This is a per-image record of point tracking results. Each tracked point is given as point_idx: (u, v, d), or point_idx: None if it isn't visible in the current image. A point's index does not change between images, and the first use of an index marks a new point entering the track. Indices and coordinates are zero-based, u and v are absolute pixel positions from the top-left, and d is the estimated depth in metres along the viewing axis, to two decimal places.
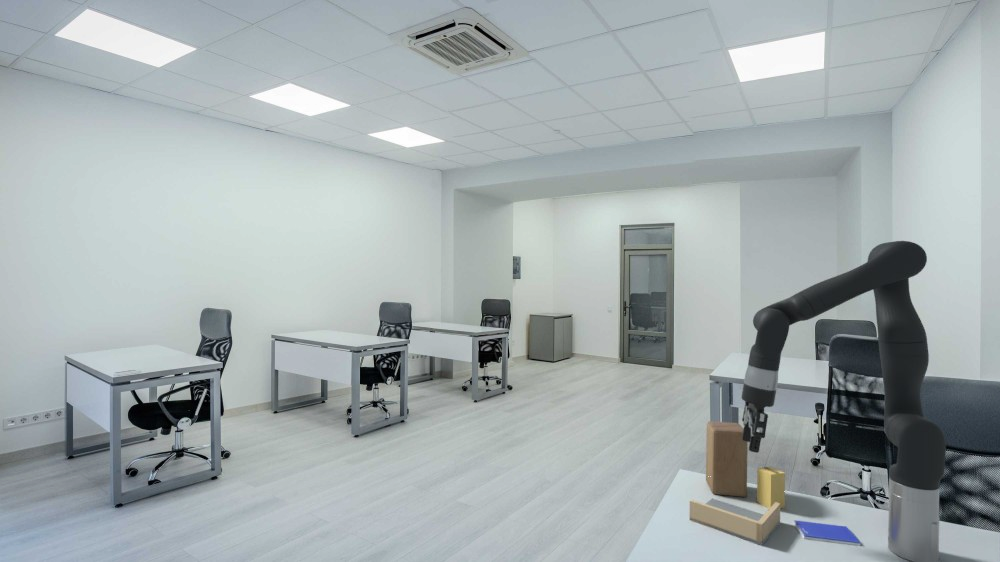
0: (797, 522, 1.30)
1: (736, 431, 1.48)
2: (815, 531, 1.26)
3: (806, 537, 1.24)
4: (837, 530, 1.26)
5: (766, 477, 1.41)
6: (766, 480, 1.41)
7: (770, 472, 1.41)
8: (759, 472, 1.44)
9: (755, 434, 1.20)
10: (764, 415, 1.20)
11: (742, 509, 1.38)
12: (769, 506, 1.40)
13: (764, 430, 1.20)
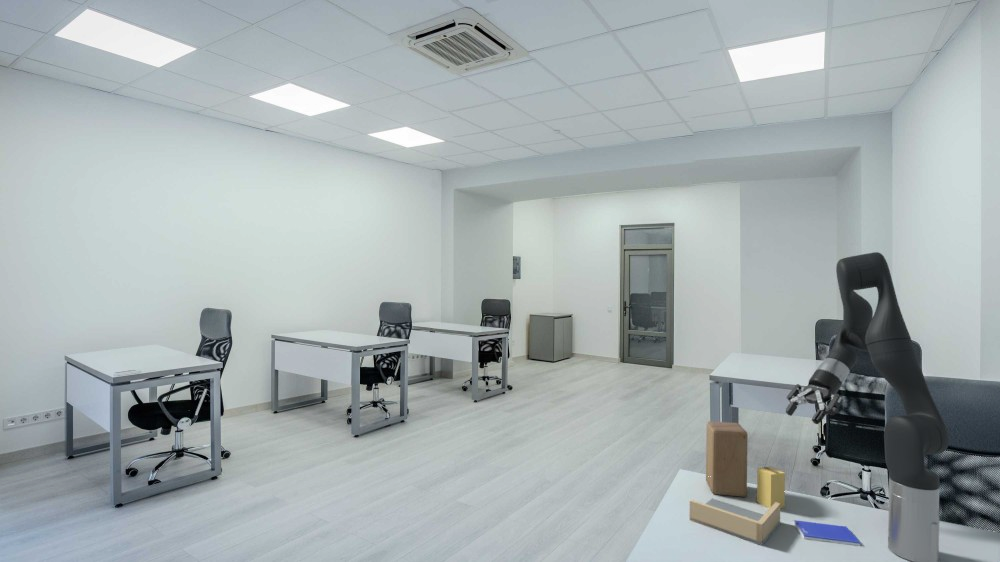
0: (797, 522, 1.30)
1: (736, 431, 1.48)
2: (815, 531, 1.26)
3: (806, 537, 1.24)
4: (837, 530, 1.26)
5: (766, 477, 1.41)
6: (766, 480, 1.41)
7: (770, 472, 1.41)
8: (759, 472, 1.44)
9: None
10: None
11: (742, 509, 1.38)
12: (769, 506, 1.40)
13: None
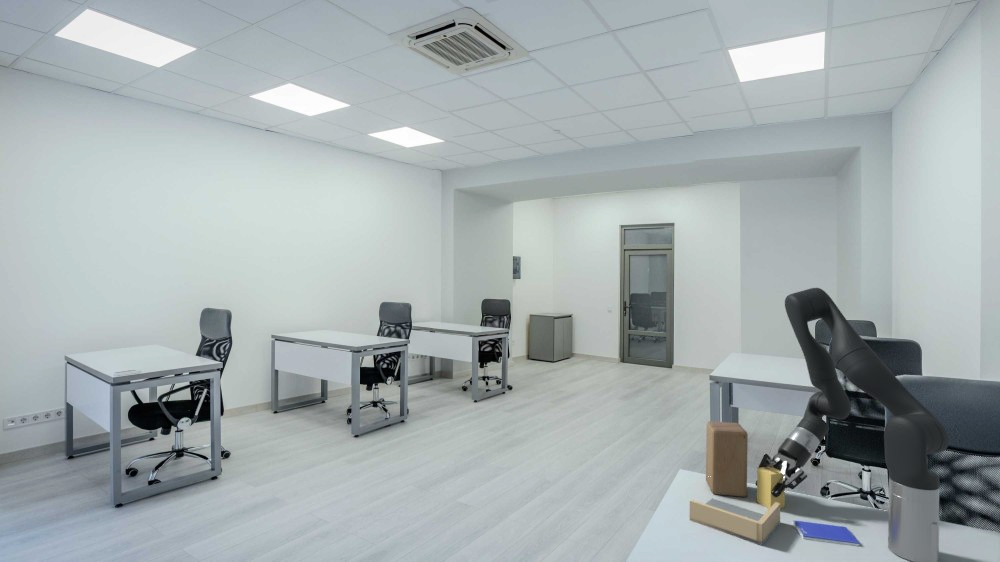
0: (796, 522, 1.30)
1: (736, 431, 1.48)
2: (814, 531, 1.26)
3: (805, 537, 1.24)
4: (836, 530, 1.26)
5: (766, 477, 1.41)
6: (766, 480, 1.41)
7: (770, 472, 1.41)
8: (759, 472, 1.44)
9: None
10: None
11: (742, 509, 1.38)
12: (769, 506, 1.40)
13: None
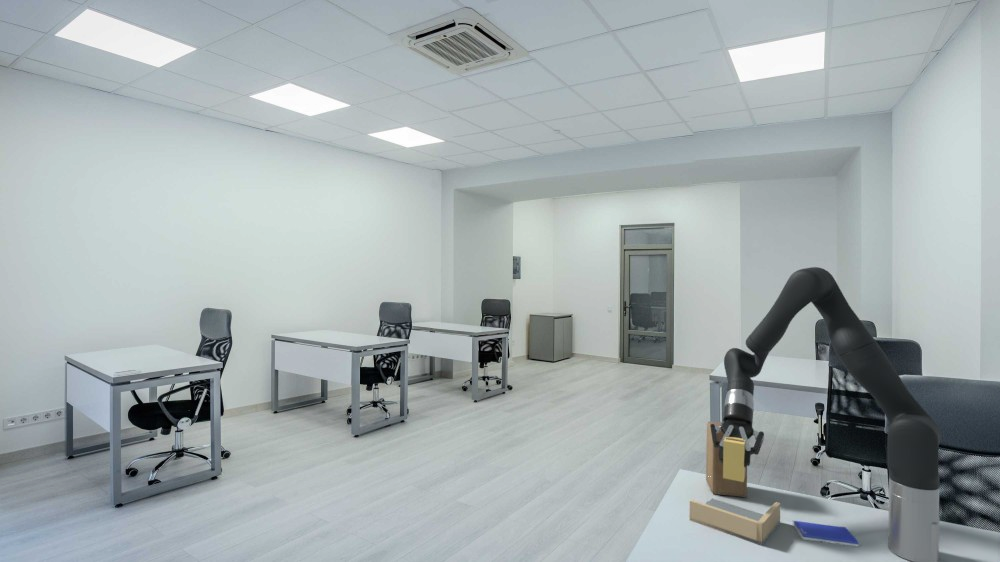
0: (796, 522, 1.30)
1: None
2: (813, 531, 1.26)
3: (804, 537, 1.24)
4: (836, 531, 1.26)
5: (736, 448, 1.30)
6: (737, 451, 1.30)
7: (739, 442, 1.31)
8: (726, 445, 1.31)
9: (713, 444, 1.38)
10: None
11: (742, 509, 1.38)
12: (741, 479, 1.30)
13: None
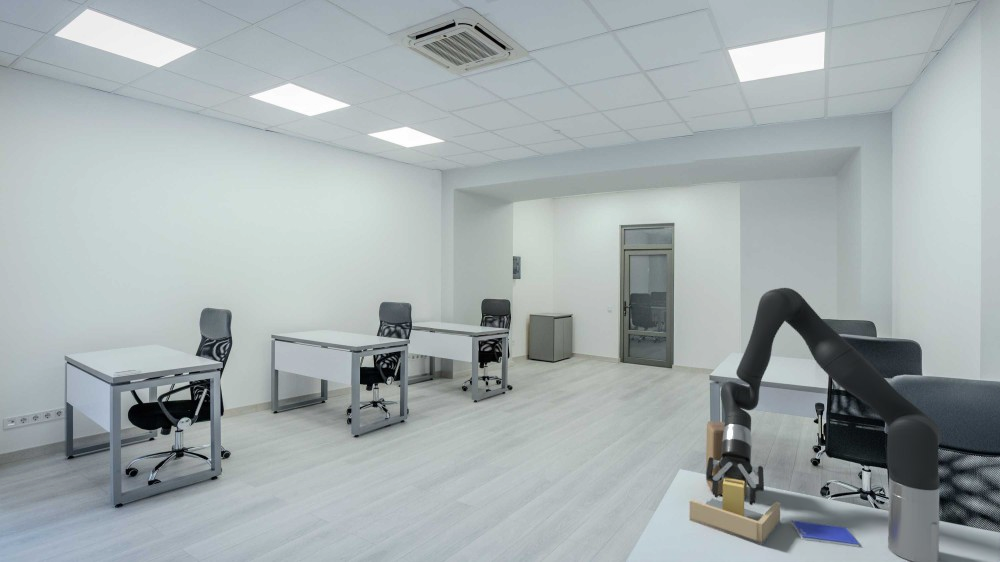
0: (795, 523, 1.30)
1: None
2: (813, 532, 1.26)
3: (804, 538, 1.24)
4: (835, 531, 1.26)
5: (736, 491, 1.29)
6: (736, 494, 1.29)
7: (738, 485, 1.30)
8: (725, 487, 1.31)
9: (706, 477, 1.38)
10: None
11: None
12: None
13: None
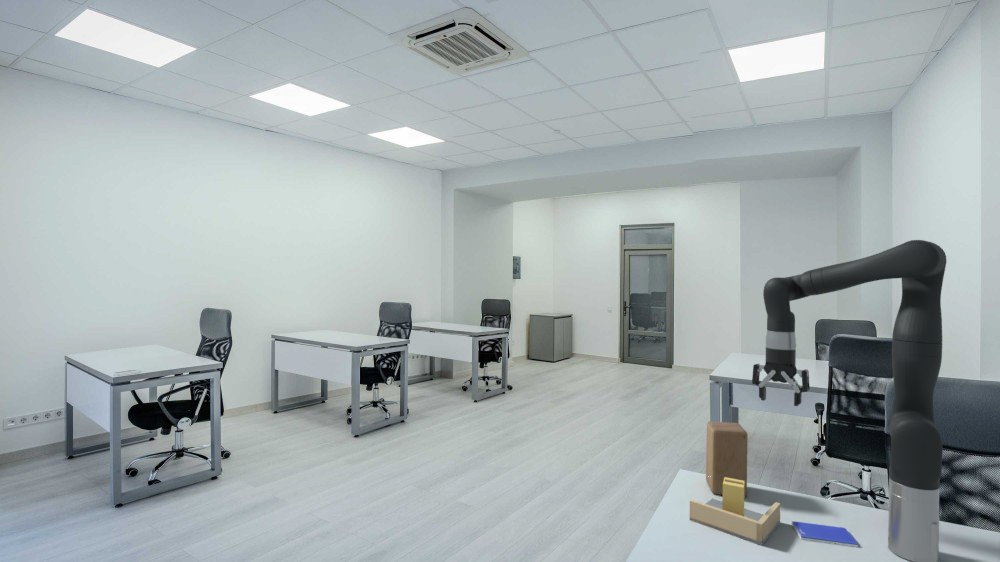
0: (795, 523, 1.30)
1: (736, 431, 1.48)
2: (812, 532, 1.25)
3: (803, 538, 1.24)
4: (835, 531, 1.26)
5: (736, 491, 1.29)
6: (736, 494, 1.29)
7: (738, 485, 1.30)
8: (725, 487, 1.31)
9: None
10: (755, 365, 1.45)
11: None
12: None
13: None
